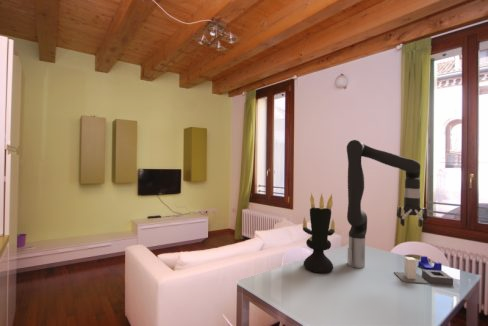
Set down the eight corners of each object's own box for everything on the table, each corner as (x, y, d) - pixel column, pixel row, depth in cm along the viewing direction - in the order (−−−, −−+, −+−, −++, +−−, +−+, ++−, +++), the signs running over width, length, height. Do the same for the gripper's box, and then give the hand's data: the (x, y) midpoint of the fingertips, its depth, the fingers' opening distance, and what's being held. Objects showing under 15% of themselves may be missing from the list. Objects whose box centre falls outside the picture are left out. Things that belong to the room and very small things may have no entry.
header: (431, 283, 138) (431, 276, 138) (421, 275, 148) (422, 269, 148) (453, 285, 136) (453, 278, 136) (442, 277, 146) (442, 270, 146)
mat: (402, 282, 139) (402, 280, 139) (393, 272, 151) (393, 271, 151) (428, 284, 137) (428, 283, 137) (417, 274, 149) (417, 273, 149)
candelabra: (333, 263, 163) (334, 189, 163) (340, 279, 141) (341, 193, 141) (301, 261, 166) (303, 188, 167) (303, 275, 145) (304, 192, 145)
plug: (407, 278, 142) (408, 259, 142) (404, 275, 146) (404, 256, 146) (415, 279, 142) (416, 260, 142) (412, 275, 146) (412, 257, 146)
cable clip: (418, 266, 163) (418, 256, 163) (425, 265, 163) (425, 256, 163) (433, 274, 151) (434, 263, 151) (441, 274, 151) (441, 263, 151)
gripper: (400, 196, 145) (399, 227, 145) (429, 198, 142) (429, 228, 142) (395, 195, 152) (394, 223, 152) (423, 196, 150) (422, 225, 150)
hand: (411, 226), depth 147 cm, fingers open, 8 cm apart
